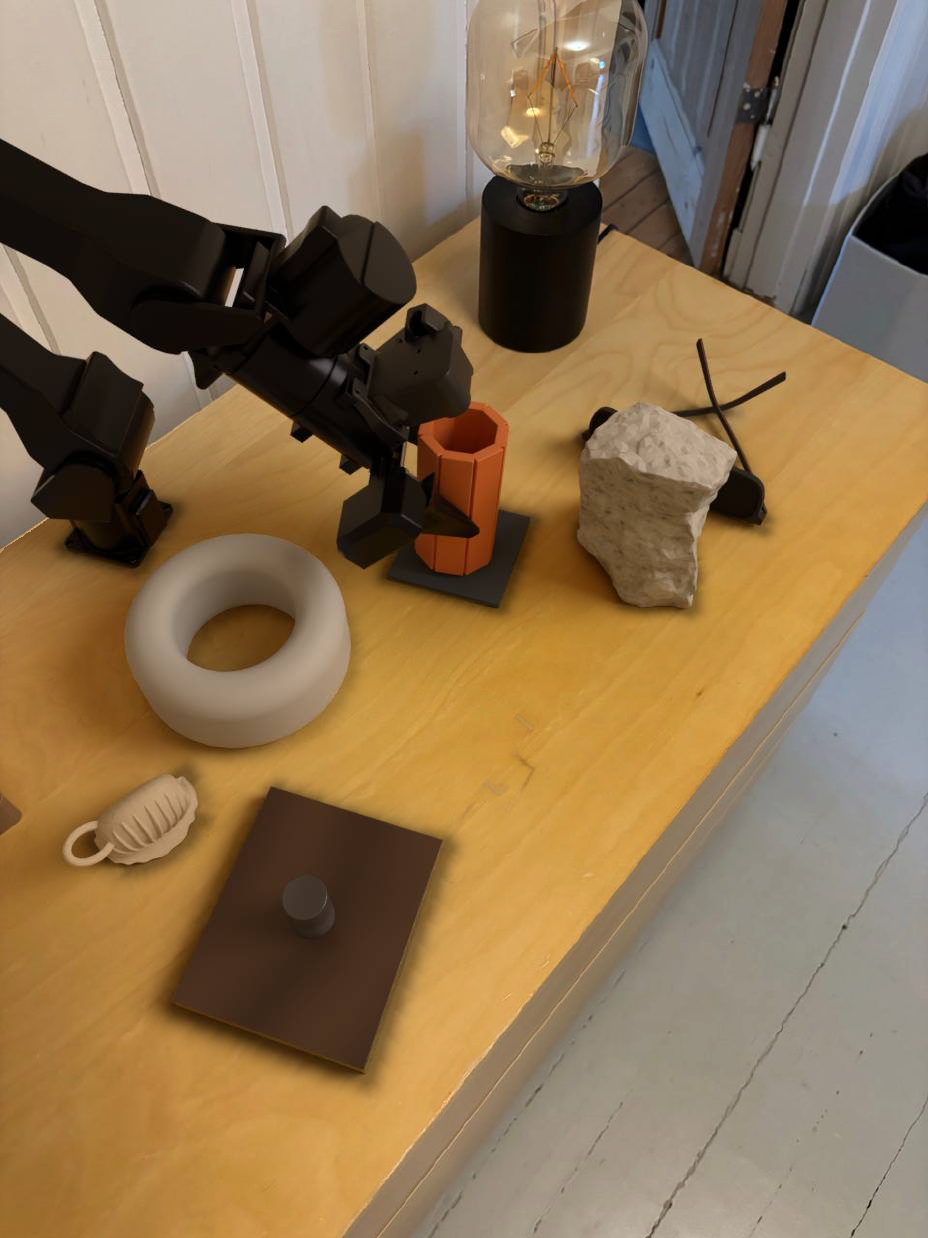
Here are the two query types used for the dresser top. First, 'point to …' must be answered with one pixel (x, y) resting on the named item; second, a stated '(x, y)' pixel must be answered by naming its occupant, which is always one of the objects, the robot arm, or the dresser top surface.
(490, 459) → the octagonal orange vase
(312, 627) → the fat ring
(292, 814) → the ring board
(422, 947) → the dresser top surface
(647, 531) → the decorative stone
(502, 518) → the felt mat
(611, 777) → the dresser top surface
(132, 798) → the decorative ornament
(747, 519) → the sunglasses
